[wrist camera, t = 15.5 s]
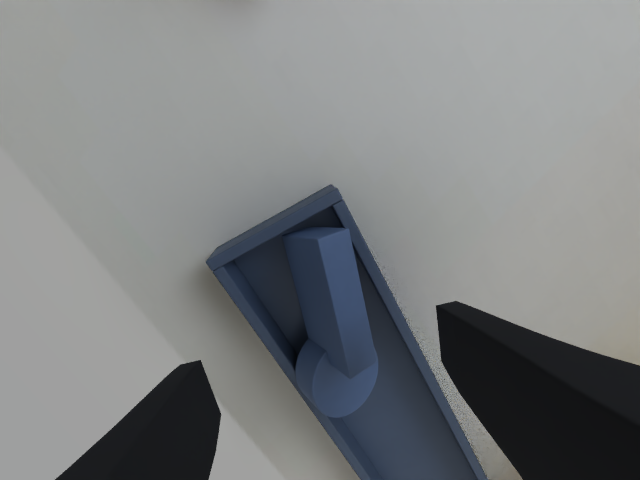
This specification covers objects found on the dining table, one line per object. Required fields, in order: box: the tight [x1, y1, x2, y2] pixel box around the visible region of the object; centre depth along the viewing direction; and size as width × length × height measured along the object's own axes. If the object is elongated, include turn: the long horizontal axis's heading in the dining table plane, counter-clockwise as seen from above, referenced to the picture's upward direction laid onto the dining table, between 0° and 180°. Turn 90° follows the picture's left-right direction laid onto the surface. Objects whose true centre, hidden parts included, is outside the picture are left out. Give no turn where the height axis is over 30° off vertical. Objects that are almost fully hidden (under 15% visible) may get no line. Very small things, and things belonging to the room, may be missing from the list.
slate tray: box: [206, 185, 488, 480], centre depth 16 cm, size 25×6×2 cm, turn 28°
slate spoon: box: [282, 227, 378, 418], centre depth 12 cm, size 8×4×3 cm, turn 13°
